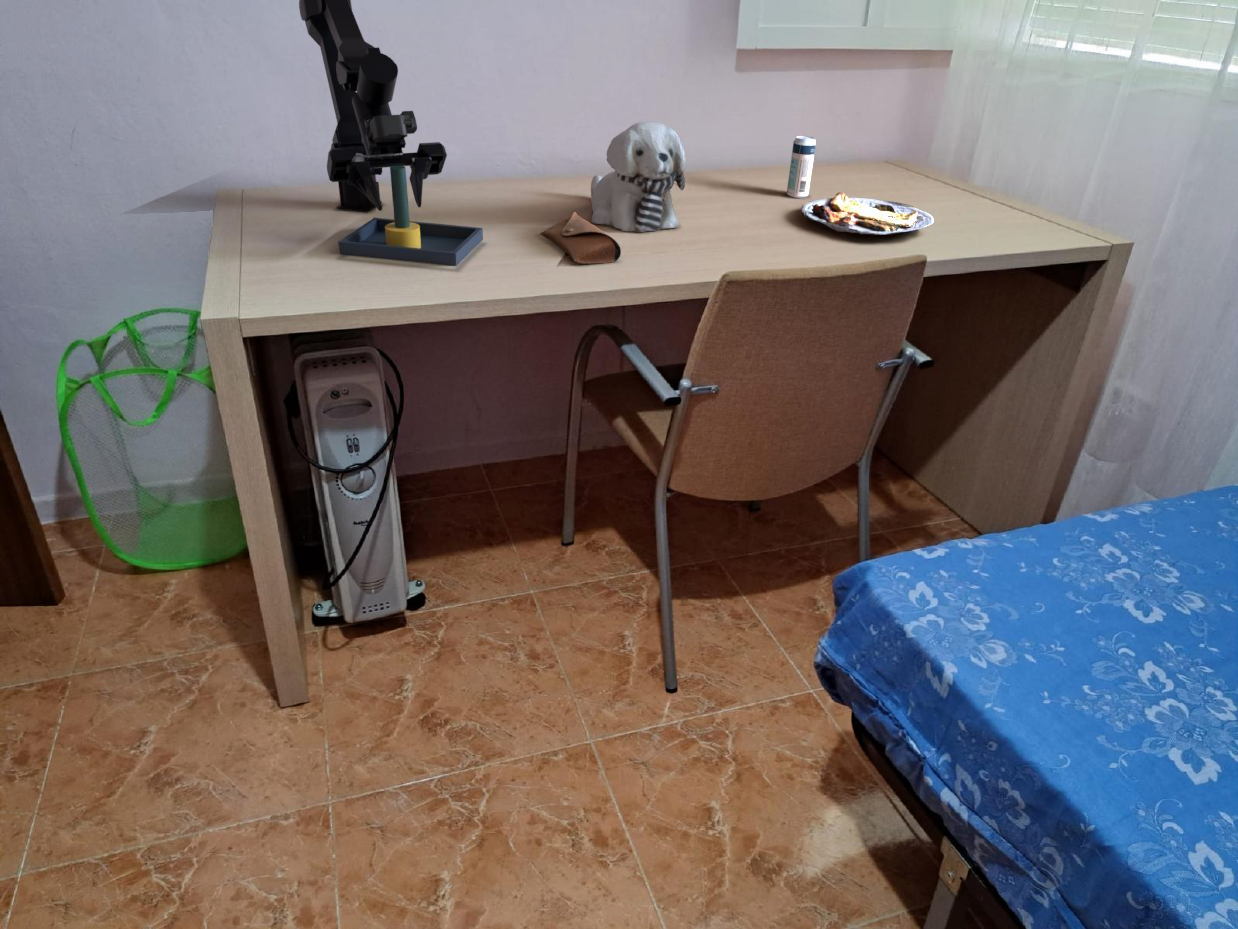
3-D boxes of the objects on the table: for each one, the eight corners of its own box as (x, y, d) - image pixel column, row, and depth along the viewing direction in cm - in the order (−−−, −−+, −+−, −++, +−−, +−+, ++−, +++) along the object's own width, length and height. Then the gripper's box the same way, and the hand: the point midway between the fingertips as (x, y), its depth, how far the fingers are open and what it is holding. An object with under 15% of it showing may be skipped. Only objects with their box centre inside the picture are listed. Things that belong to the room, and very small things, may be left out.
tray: (340, 258, 146) (338, 241, 145) (375, 233, 159) (374, 217, 157) (456, 270, 144) (455, 253, 143) (483, 243, 157) (482, 227, 155)
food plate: (777, 220, 178) (780, 202, 176) (839, 201, 193) (842, 184, 191) (892, 251, 164) (896, 232, 162) (949, 227, 179) (953, 210, 177)
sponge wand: (380, 250, 149) (373, 169, 142) (396, 240, 153) (389, 161, 147) (412, 254, 148) (406, 172, 141) (426, 244, 152) (421, 165, 146)
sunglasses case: (534, 232, 162) (552, 198, 160) (564, 248, 166) (582, 215, 164) (575, 263, 148) (595, 227, 146) (608, 280, 152) (627, 245, 151)
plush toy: (653, 239, 163) (660, 133, 154) (543, 213, 174) (543, 113, 165) (700, 218, 176) (709, 119, 167) (594, 195, 187) (597, 101, 178)
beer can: (811, 195, 196) (820, 137, 189) (803, 199, 192) (811, 141, 186) (791, 191, 198) (799, 134, 192) (782, 195, 194) (790, 137, 188)
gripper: (321, 94, 138) (346, 184, 135) (439, 90, 146) (465, 176, 143) (317, 137, 148) (340, 222, 145) (428, 131, 156) (452, 212, 153)
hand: (400, 207), depth 146 cm, fingers open, 6 cm apart
